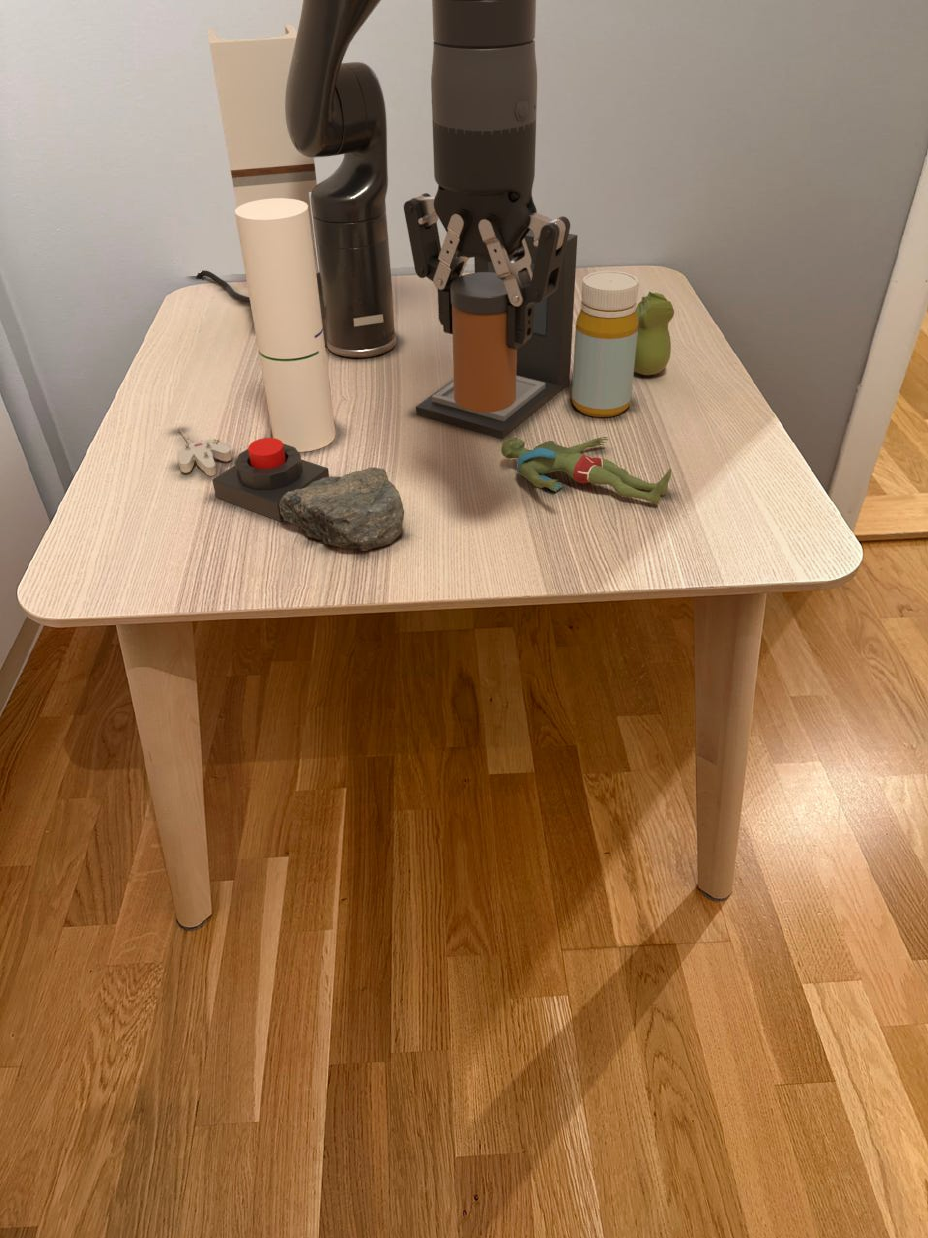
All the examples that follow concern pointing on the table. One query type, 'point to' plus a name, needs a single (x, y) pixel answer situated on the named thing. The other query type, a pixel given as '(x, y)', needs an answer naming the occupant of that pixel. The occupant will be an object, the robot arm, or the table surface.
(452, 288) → the orange canister with lid
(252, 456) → the button
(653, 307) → the pear
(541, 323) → the coffee maker
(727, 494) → the table surface
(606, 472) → the figurine
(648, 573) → the table surface
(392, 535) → the rock
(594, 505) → the table surface
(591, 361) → the bottle
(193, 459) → the game controller
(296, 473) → the control block
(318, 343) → the cylindrical container
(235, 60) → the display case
